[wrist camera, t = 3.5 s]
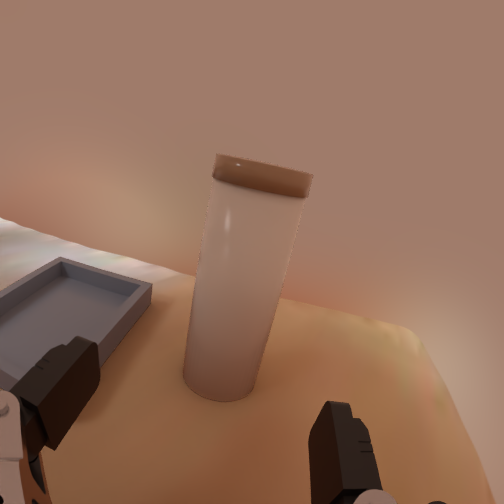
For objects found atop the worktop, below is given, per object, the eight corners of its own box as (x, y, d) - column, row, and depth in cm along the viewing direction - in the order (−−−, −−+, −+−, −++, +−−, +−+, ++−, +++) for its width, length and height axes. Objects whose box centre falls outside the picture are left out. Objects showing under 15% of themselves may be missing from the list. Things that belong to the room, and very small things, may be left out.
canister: (172, 390, 18) (206, 152, 14) (191, 346, 23) (224, 153, 18) (252, 409, 18) (319, 177, 13) (257, 362, 23) (308, 172, 18)
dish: (-48, 351, 13) (-55, 327, 12) (60, 274, 27) (59, 256, 27) (59, 422, 12) (52, 399, 12) (150, 303, 27) (152, 283, 27)
